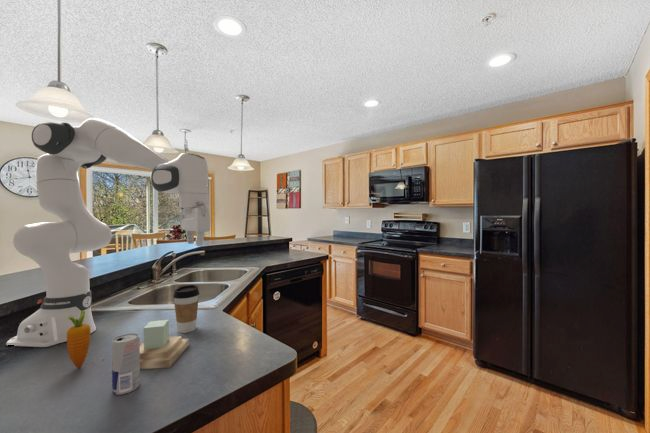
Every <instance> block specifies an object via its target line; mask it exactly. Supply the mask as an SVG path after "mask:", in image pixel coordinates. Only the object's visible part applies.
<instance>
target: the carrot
mask: <svg viewBox="0 0 650 433" xmlns="http://www.w3.org/2000/svg"><path fill="white" fill-rule="evenodd" d="M84 316H85V311H81V316H80V318H79V320H78V319H75V318H74V317H72V316H71V317H68V319H70V320H71V321H72V322H73V324H74V325H75V326H72V327H70V328H69V329H68V331H67V341H66V345H67V351H68V355H69V359H70V360H71V362H72V364H73V365H74V366H75V368H77V369H80V368H81V367H82V366H83V364H84V363H85V360H86V358H87V356H88V353H89V352H88V351H89V349H90V348H89V347H90V343H91V333H90V325H88V324H82V322H83V319H84Z"/></svg>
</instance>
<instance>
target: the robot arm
mask: <svg viewBox="0 0 650 433" xmlns="http://www.w3.org/2000/svg"><path fill="white" fill-rule="evenodd" d="M31 141H32V144H33V145H34V147H35V148H37V149H38V150H39V151H41V152H44V153H45V154H42V155H40V156H39V157H38V158H37V160H36V164H35V184H36V189H37V190H36V191H37V195H38V202H39V205H40V206H41V207H40V208H42V209H43V210H44V211H46V212H48V213H51V214H53V215H55V216H57V217H58V218H60V219H61V220H62V221H52V222H51V221H48V222H47V221H46V222H45V221H44V222H36V223H31V224H25V225H22V226H20V227H19V228H18V229H17V230H16V231H15V233H14V234H13V242H12V243H13V247H14V248H15V250H16V251H17V252H18V253H20V255H23V256H25V257H27V258H29V259H31V260H32V261H33V262H35V263H36V264H38V266H39V268H40V269H41V270H42V272H43V275H44V282H45V292H46V293H45V294H46V296H44V297H42V298H40V299H38V300H36V301H37V303H36V304H40V303H41V305H40V308H38V309H37V310H36V311H35V312H34V313H32V314H31V315H29V316H27V317H26V318H24V319H23V320H22V321H21V322H20V323H19V326H18V328H17V331H16V332H17V334H16V336H13V337H11V338H9V340H7V341H6V344H5V345H6V346H8V345H14V346H13V347H33V348H47V347H52V346H55V345H58V344H61V343H64V342H65V343H67V331H68V329H69V328H70V327H72V326H75V325H74V324H73V322H72V321H71V320H70V319H68V317H71V316H72V317H74V318H75V319H78V320H79V318H80V316H81V311H85V316H84V319H83V322H82V324H88V325H90V334H92V333H94V332H95V331H96V330H97V327H96V325H95V322H94V318H93V314H92V309H91V308H92V290H91V289H90V284H91V283H90V270H89V268H87V267H86V266H85V265H82V264H80V263H77V262H74V261H72V260H71V256H70V254H77V253H86V252H94V251H96V250H100V249H103V248H104V249H105V248H106V247H107V246H109V244H110V243H111V241H112V238H113V232H112V230H111V228H110V226H109V225H108V224H107V223H104V222H103V221H100V220H99V219H98V218H97V217H96V216H94V215H93V214H92V213H91V212H90V210H89V209H88V208H87V206H86V204H85V201H84V197H83V192H82V188H81V183H80V178H79V175H78V174H79V169H80V168H82V169H90V168H91V167H93V166H98V165H99V164H100V165H101V164H102V163H103V162H105V161H106V160H108V159H109V160H111V161H113V162H116V163H118V164H121V165H122V164H123V165H127V166H132V167H135V168H137V167H138V168H142V169H146V170H148V171H151V172H150V176H149V179H150V181H149V182H150V184H151V186H152V187H153V189H154V190H156V191H157V192H160V193H164V194H171V195H178V202H177V204H176V205H177V206H176V207H177V209H178V211H179V212H178V213H179V215H178V216H179V225H180V229H181V230H182V231H185V235H186V240H187V241H186V242H187V244H188V245H193V244H194V243H195V246H197V247H202V246H203V245H204V242H203V241H204V238H205V233H206V232H207V233H209V232H210V230H211V218H210V217H211V216H210V209H209V208H210V204H209V203H210V202H209V200H210V199H209V195H210V194H209V189H208V184H209V168H208V167H209V166H208V162H207V160H206V158H205V157H203V156H202V155H199V154H196V153H191V152H182V153H180V154H179V155H178V156H177V157H176V158H175V159H172V160H168V159H167V158H165V157H163V156H161V155H160V154H158V153H156V152H155V151H153V150H152V149H151V148H149V147H148V146H146V145H145V144H144V143H142V142H141V141H140V140H138V139H137V138H136V137H134V136H132V135H131V133H128V132H127V131H125V130H124V129H122V128H121V127H119V126H117V125H115V124H114V123H111V122H109V121H106V120H104V119H101V118H98V117H97V118H96V117H91V118H87V119H85V120H84V121H83V122H82V123H81V124H80V125H79V126H72V125H71V124H70V123H69V122H57V121H56V122H55V121H44V122H40V123H39V124H37V125H36V126H35V127H34V128H33V130H32V132H31ZM194 232H195V235H196V237H195V238H196V240H195V239H194Z"/></svg>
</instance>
